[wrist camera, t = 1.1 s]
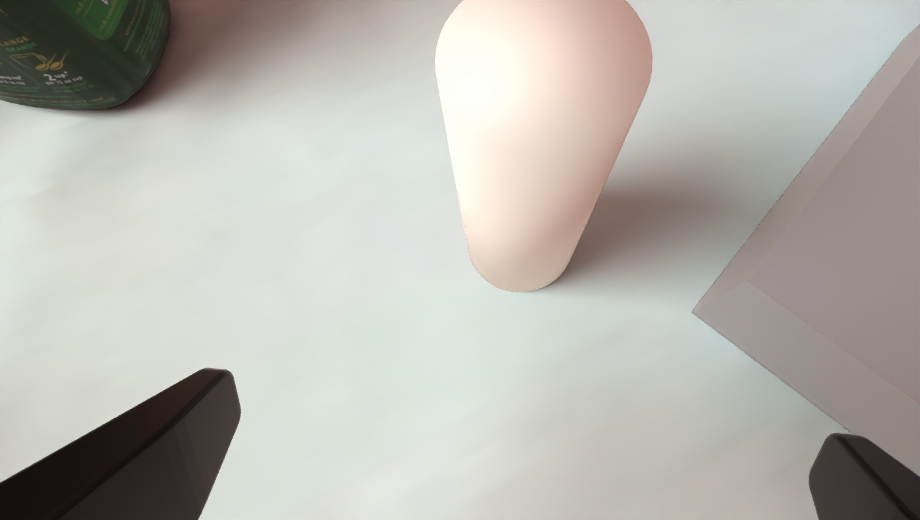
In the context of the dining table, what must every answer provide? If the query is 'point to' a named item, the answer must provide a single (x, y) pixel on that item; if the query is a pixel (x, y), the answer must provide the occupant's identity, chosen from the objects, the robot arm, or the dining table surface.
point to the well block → (843, 270)
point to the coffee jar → (79, 50)
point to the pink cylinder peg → (536, 124)
